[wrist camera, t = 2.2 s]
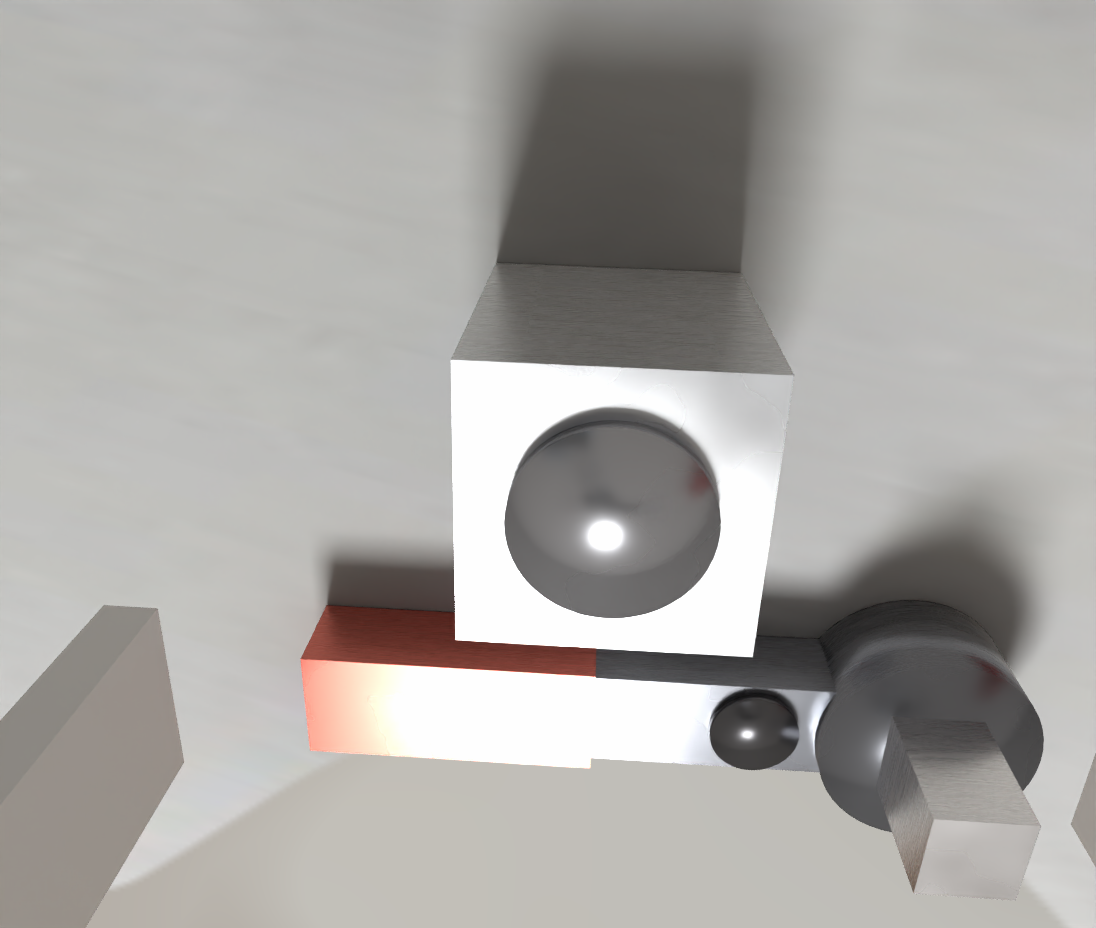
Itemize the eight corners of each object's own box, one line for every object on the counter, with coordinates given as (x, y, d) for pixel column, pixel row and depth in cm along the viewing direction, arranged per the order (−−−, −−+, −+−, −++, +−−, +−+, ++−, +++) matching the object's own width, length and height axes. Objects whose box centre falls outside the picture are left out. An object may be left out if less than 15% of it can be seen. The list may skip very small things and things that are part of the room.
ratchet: (323, 567, 27) (244, 718, 21) (1021, 606, 26) (1139, 774, 21) (337, 724, 30) (270, 897, 24) (976, 764, 29) (1069, 953, 23)
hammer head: (496, 262, 23) (447, 367, 16) (741, 273, 23) (798, 383, 16) (495, 480, 26) (452, 651, 19) (715, 492, 25) (755, 669, 18)
